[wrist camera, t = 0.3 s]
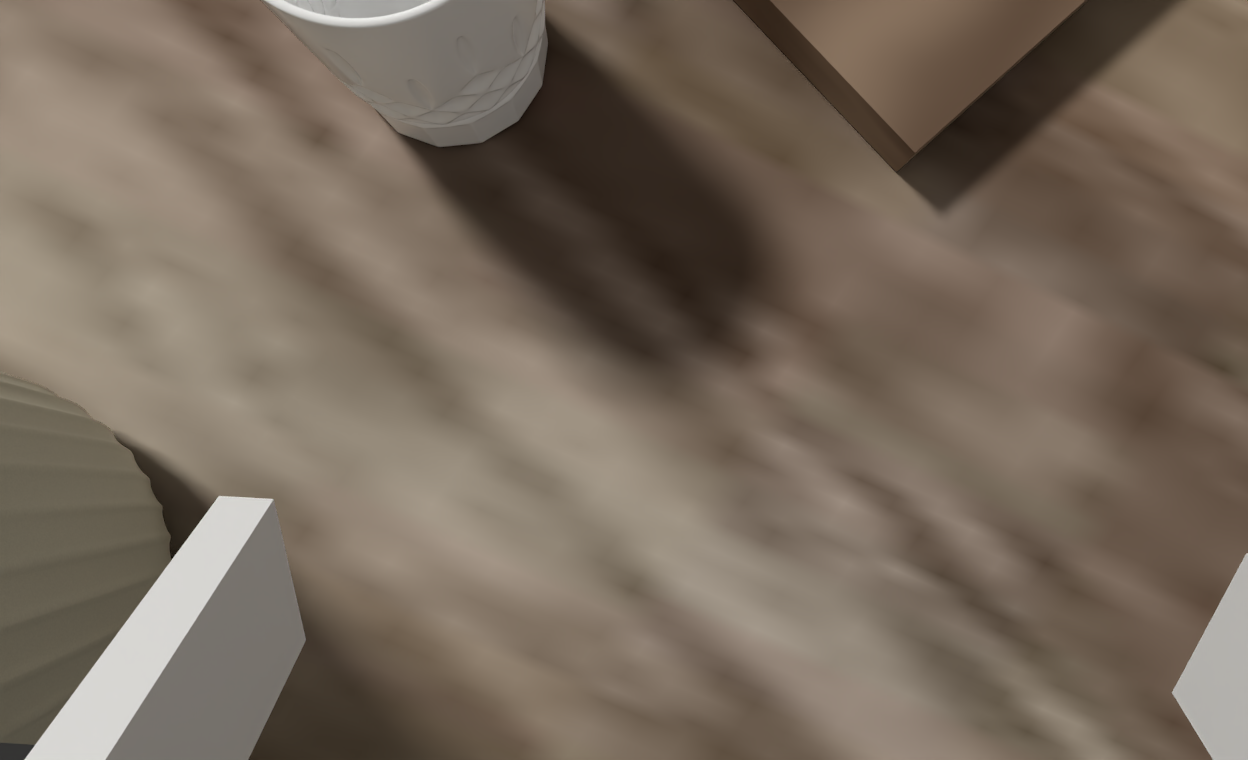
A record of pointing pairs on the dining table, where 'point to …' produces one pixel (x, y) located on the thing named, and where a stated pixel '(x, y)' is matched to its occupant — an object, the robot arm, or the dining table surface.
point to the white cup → (429, 59)
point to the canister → (65, 550)
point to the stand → (906, 57)
